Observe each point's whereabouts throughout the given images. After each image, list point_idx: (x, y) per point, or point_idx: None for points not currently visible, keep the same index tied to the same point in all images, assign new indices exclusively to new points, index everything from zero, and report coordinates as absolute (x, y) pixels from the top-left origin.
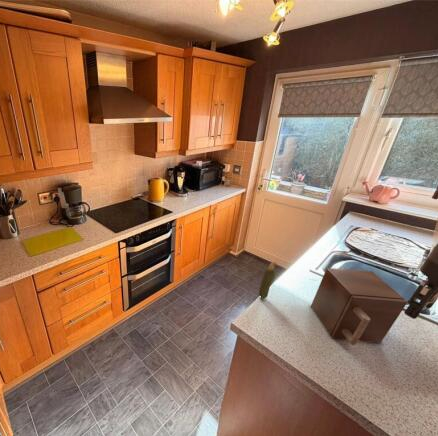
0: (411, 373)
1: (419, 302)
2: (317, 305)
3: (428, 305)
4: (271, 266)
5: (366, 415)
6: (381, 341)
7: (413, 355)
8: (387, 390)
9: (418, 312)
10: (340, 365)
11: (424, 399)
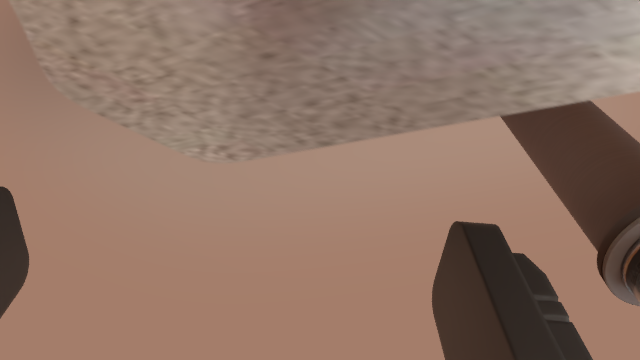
0: (417, 70)
1: (462, 228)
2: None
3: (446, 311)
4: None
5: (31, 35)
6: None
7: (550, 47)
8: (228, 43)
9: None
10: None
11: (319, 127)
